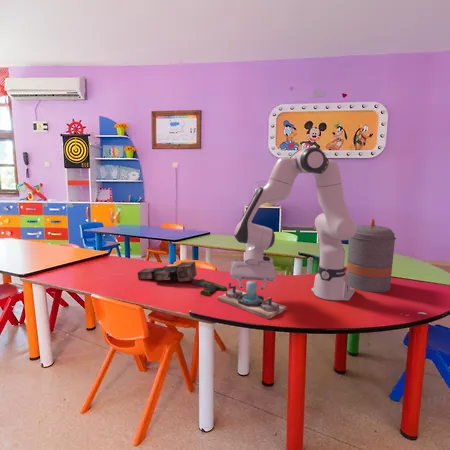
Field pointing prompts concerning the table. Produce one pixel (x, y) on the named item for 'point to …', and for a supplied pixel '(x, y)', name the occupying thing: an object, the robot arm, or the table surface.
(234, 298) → the board
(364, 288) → the storage container
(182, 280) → the toy
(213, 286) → the gun
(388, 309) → the table surface
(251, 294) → the teal gear
